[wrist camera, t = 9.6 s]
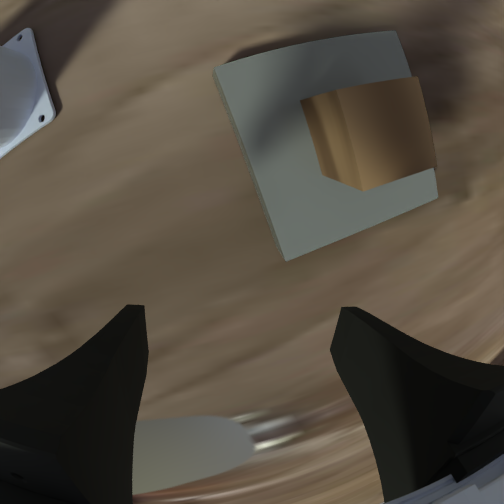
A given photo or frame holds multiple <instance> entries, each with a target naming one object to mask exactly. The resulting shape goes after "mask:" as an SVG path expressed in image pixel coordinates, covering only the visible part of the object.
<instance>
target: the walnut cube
mask: <svg viewBox="0 0 504 504" xmlns="http://www.w3.org/2000/svg"><path fill="white" fill-rule="evenodd" d="M300 102H301V105H302V109H303V112H304V115H305V118H306V121H307V124H308V128H309V131H310V134H311V137H312V141H313V144H314V148H315V151H316V155H317V158H318V162H319V165H320V169H321V172H322V175H323V176H326V177H328V178H331V179H333V180H336V181H338V182H341V183H343V184H346V185H348V186H351V187H353V188H356V189H358V190H360V191H366V190H369V189H372V188H375V187H378V186H381V185H384V184H387V183H389V182H392V181H395V180H398V179H401V178H404V177H407V176H410V175H413V174H416V173H419V172H422V171H425V170H428V169H431V168H434V167H437V162H436V156H435V150H434V144H433V139H432V134H431V129H430V124H429V119H428V115H427V110H426V106H425V102H424V98H423V94H422V90H421V86H420V83H419V79H418V76H415V77H407V78H400V79H393V80H386V81H380V82H374V83H368V84H363V85H357V86H352V87H347V88H342V89H337V90H334V91H330V92H326V93H323V94H319V95H316V96H313V97H309V98H306V99H303V100H300Z"/></svg>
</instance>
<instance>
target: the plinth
mask: <svg viewBox="0 0 504 504" xmlns="http://www.w3.org/2000/svg"><path fill="white" fill-rule="evenodd" d="M407 77H412V75H411V72H410V69H409V66H408V63H407V60H406V57H405V54H404V51H403V48H402V46H401V43H400V40H399V38H398V35H397V32H396V30H394V31H381V32H371V33H362V34H354V35H346V36H340V37H333V38H327V39H322V40H316V41H311V42H306V43H301V44H297V45H292V46H288V47H283V48H279V49H275V50H271V51H267V52H264V53H260V54H256V55H253V56H249V57H246V58H242V59H239V60H236V61H233V62H229V63H226V64H223V65H220V66H217V67H214V70H213V78H214V81H215V84H216V86H217V89H218V91H219V94H220V96H221V99H222V101H223V104H224V107H225V109H226V112H227V114H228V117H229V120H230V122H231V125H232V127H233V130H234V133H235V135H236V138H237V141H238V143H239V146H240V148H241V151H242V154H243V156H244V159H245V162H246V164H247V167H248V170H249V173H250V175H251V178H252V181H253V183H254V186H255V189H256V192H257V194H258V197H259V200H260V202H261V205H262V208H263V211H264V213H265V216H266V219H267V222H268V225H269V227H270V230H271V233H272V236H273V239H274V241H275V244H276V247H277V249H278V250H279V252H280V253H281V255H282V257H283V258H284V260H285V261H289V260H291V259H294V258H296V257H299V256H301V255H303V254H306V253H308V252H311V251H313V250H316V249H318V248H321V247H323V246H326V245H328V244H330V243H333V242H335V241H338V240H340V239H343V238H345V237H347V236H350V235H352V234H355V233H357V232H359V231H362V230H364V229H367V228H369V227H371V226H374V225H376V224H378V223H381V222H383V221H385V220H388V219H390V218H393V217H395V216H397V215H400V214H402V213H404V212H407V211H409V210H411V209H414V208H416V207H418V206H421V205H423V204H425V203H427V202H430V201H432V200H434V199H437V198H438V193H437V186H436V179H435V173H434V168H431V169H428V170H425V171H422V172H419V173H416V174H413V175H410V176H407V177H404V178H401V179H398V180H395V181H392V182H389V183H387V184H384V185H381V186H378V187H375V188H372V189H369V190H366V191H360V190H358V189H356V188H353V187H351V186H348V185H346V184H343V183H341V182H338V181H336V180H333V179H331V178H328V177H326V176H323V175H322V172H321V169H320V165H319V162H318V158H317V155H316V151H315V148H314V144H313V141H312V137H311V134H310V131H309V128H308V124H307V121H306V118H305V115H304V112H303V109H302V105H301V102H300V100H303V99H306V98H309V97H313V96H316V95H319V94H323V93H326V92H330V91H334V90H337V89H342V88H347V87H352V86H357V85H363V84H368V83H374V82H380V81H386V80H393V79H400V78H407Z"/></svg>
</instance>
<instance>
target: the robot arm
mask: <svg viewBox="0 0 504 504" xmlns="http://www.w3.org/2000/svg"><path fill="white" fill-rule="evenodd" d="M21 36H22V39H21V40H20V41H19V39H20V37H21ZM43 115H44V116H45V119H44V121H43V122H42V121H41V117H42V116H43ZM55 116H56V111H55V108H54V105H53V102H52V99H51V96H50V92H49V89H48V86H47V83H46V79H45V76H44V73H43V69H42V66H41V62H40V58H39V54H38V51H37V47H36V43H35V38H34V34H33V30H32V29H30V28H25V29H24V30H22V31H21V32H19V33H18V34H17V35H16V36H14V37H13V38H12V39H10V40H9V41H8V42H7V43H5V44H4V45H3V46H0V159H1V158H2V157H3V156H5V155H6V154H7V153H8V152H10V151H11V150H12V149H13V148H15V147H16V146H17V145H19V144H20V143H21V142H23V141H24V140H25V139H27V138H28V137H30V136H31V135H32V134H34V133H35V132H37V131H38V130H40V129H41V128H42V127H44V126H45V125H47V124H48V123H50V122H51V121H53V120H54V118H55ZM330 352H331V355H332V358H333V361H334V364H335V366H336V369H337V372H338V374H339V376H340V378H341V380H342V381H343V383H344V385H345V387H346V389H347V391H348V393H349V395H350V397H351V399H352V401H353V402H354V404H355V406H356V408H357V410H358V412H359V414H360V416H361V418H362V421H363V423H364V426H365V429H366V431H367V434H368V437H369V440H370V443H371V446H372V449H373V453H374V456H375V459H376V463H377V467H378V471H379V475H380V480H381V485H382V490H383V496H384V502H385V503H384V504H504V366H499V365H491V364H486V363H481V362H476V361H472V360H468V359H464V358H461V357H458V356H455V355H451V354H449V353H446V352H443V351H441V350H438V349H436V348H433V347H431V346H429V345H426V344H424V343H422V342H420V341H418V340H416V339H414V338H412V337H410V336H408V335H406V334H405V333H403V332H401V331H399V330H397V329H396V328H394V327H392V326H390V325H389V324H387V323H385V322H384V321H382V320H380V319H378V318H377V317H375V316H373V315H371V314H370V313H368V312H366V311H364V310H362V309H360V308H358V307H341V311H340V315H339V319H338V322H337V326H336V330H335V333H334V337H333V340H332V344H331V347H330ZM148 353H149V350H148V341H147V332H146V321H145V309H144V305H128V304H127V305H126V306H125V307H124V308H123V309H122V310H121V311H120V312H119V313H118V314H117V315H116V316H115V317H114V318H113V319H112V320H111V321H110V322H109V323H107V324H106V325H105V326H104V327H103V328H102V329H101V330H100V331H99V332H98V333H97V334H96V335H94V336H93V337H92V338H91V339H89V340H88V341H87V342H86V343H85V344H83V345H82V346H81V347H80V348H79V349H77V350H76V351H74V352H73V353H72V354H70V355H69V356H67V357H66V358H64V359H63V360H61V361H60V362H58V363H57V364H55V365H53V366H51V367H49V368H48V369H46V370H44V371H42V372H40V373H38V374H37V375H35V376H33V377H30V378H28V379H26V380H24V381H21V382H19V383H16V384H14V385H11V386H9V387H6V388H3V389H0V504H133V503H132V464H133V444H134V443H133V441H134V432H135V425H136V420H137V415H138V411H139V406H140V401H141V397H142V392H143V388H144V383H145V379H146V373H147V363H148Z"/></svg>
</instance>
